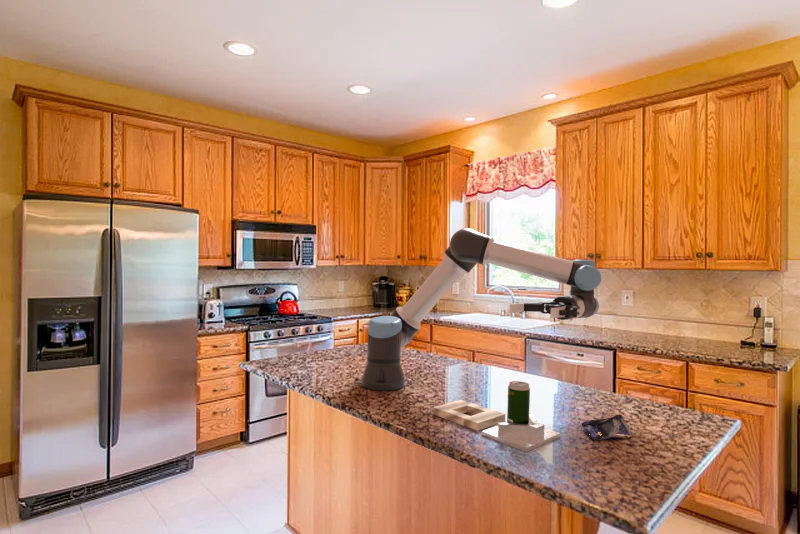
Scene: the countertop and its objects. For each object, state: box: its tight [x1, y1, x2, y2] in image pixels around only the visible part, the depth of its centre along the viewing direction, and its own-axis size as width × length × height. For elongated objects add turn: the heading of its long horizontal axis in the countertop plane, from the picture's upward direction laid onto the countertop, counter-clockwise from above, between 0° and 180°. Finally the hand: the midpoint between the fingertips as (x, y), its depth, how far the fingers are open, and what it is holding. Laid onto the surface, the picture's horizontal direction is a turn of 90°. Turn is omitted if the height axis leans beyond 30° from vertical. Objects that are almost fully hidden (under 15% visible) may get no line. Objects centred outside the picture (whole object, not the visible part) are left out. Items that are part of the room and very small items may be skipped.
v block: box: [481, 412, 561, 453], centre depth 115 cm, size 13×15×4 cm
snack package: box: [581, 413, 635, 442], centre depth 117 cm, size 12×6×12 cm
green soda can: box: [506, 380, 531, 424], centre depth 116 cm, size 5×5×12 cm
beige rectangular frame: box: [432, 399, 506, 432], centre depth 128 cm, size 16×12×2 cm
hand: (530, 310), depth 133 cm, fingers open, 13 cm apart
